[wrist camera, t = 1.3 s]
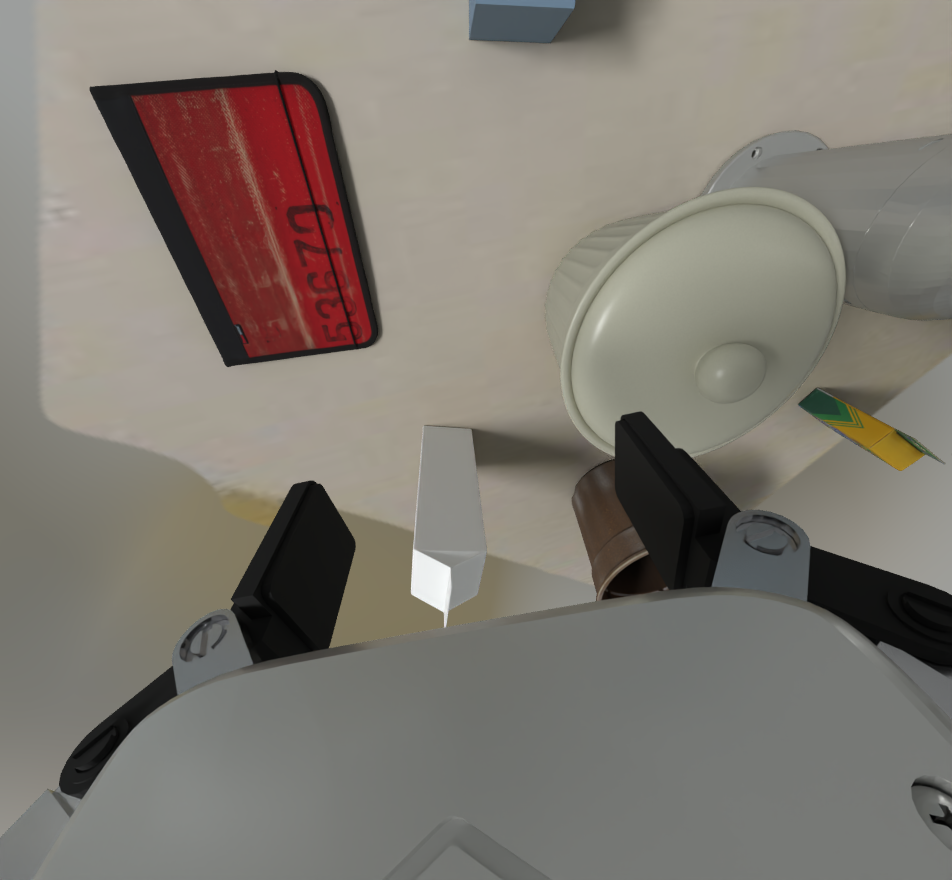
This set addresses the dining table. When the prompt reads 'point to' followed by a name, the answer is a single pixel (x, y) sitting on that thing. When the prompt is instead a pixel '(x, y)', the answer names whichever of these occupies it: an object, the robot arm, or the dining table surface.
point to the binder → (249, 209)
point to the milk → (447, 521)
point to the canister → (695, 315)
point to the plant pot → (612, 539)
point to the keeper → (517, 19)
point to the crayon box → (865, 430)
